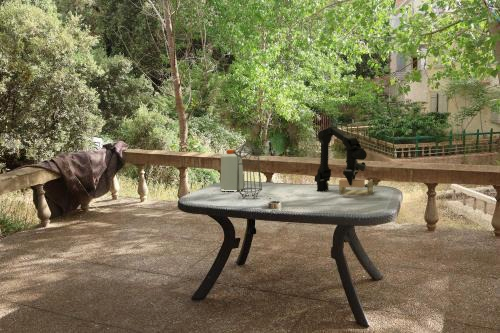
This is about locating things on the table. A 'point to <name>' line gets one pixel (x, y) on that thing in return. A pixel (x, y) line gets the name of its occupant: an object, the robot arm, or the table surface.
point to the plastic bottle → (231, 171)
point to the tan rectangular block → (355, 183)
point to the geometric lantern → (250, 168)
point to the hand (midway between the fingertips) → (351, 184)
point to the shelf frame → (358, 192)
